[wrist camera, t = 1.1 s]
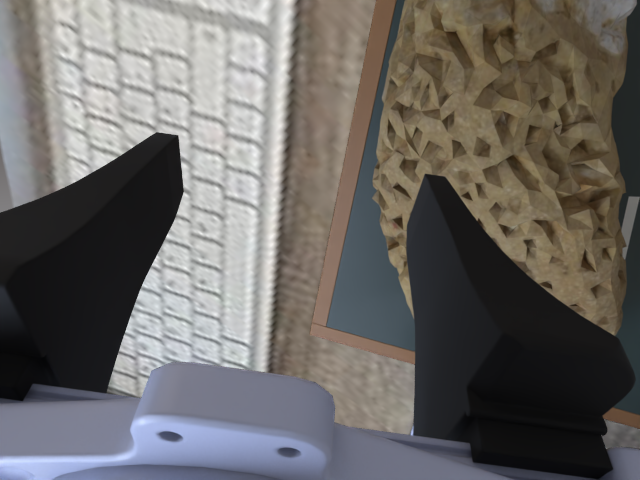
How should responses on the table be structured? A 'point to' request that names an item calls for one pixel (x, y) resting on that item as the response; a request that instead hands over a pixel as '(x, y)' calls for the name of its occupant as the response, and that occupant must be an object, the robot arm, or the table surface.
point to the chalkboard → (370, 243)
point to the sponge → (513, 136)
